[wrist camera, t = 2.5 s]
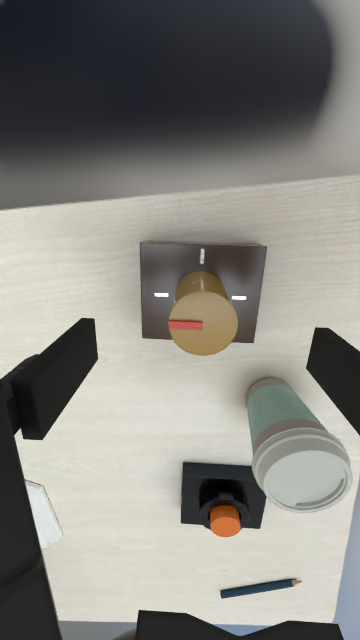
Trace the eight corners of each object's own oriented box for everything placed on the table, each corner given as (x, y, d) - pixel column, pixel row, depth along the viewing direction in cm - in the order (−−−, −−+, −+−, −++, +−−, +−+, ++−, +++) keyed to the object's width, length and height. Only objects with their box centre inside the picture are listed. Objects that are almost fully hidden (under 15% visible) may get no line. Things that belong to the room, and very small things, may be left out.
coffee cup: (240, 427, 35) (263, 522, 24) (230, 374, 33) (250, 453, 21) (305, 417, 34) (360, 512, 23) (300, 362, 32) (360, 438, 20)
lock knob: (227, 271, 25) (242, 293, 17) (222, 320, 27) (235, 359, 19) (175, 270, 25) (168, 290, 18) (174, 318, 27) (167, 356, 19)
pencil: (220, 590, 49) (300, 576, 46) (221, 593, 49) (301, 579, 47) (220, 596, 48) (302, 583, 45) (222, 599, 48) (303, 586, 46)
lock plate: (259, 244, 27) (267, 246, 24) (248, 332, 31) (254, 344, 28) (145, 240, 27) (139, 242, 25) (146, 328, 31) (141, 339, 28)
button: (240, 504, 35) (242, 518, 34) (237, 524, 37) (239, 538, 35) (210, 502, 36) (211, 516, 34) (208, 522, 37) (209, 536, 35)
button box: (265, 467, 38) (273, 494, 34) (256, 513, 41) (263, 542, 37) (183, 462, 38) (182, 488, 34) (181, 508, 42) (180, 536, 38)
